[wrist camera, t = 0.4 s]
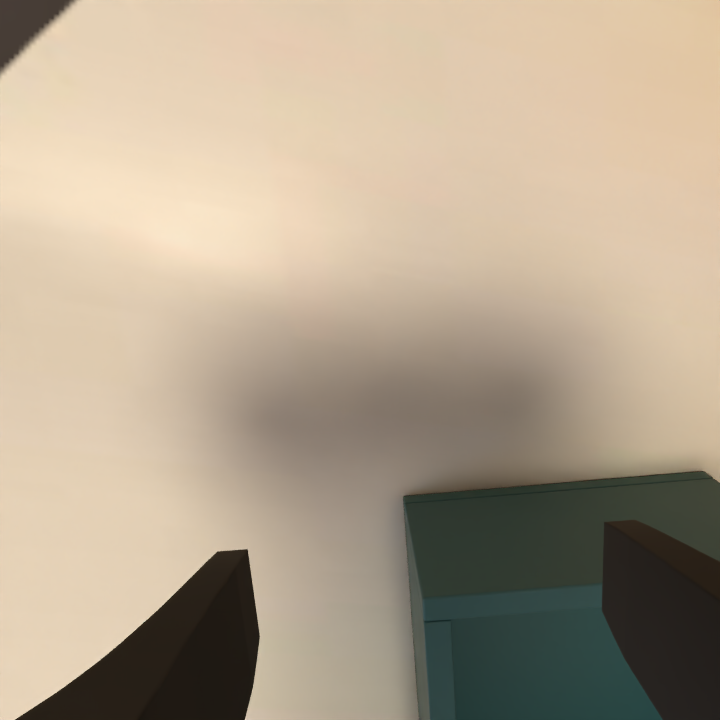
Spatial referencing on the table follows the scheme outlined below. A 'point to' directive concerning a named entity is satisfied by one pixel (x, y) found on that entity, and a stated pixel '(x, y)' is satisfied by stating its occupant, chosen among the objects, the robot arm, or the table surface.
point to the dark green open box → (534, 594)
